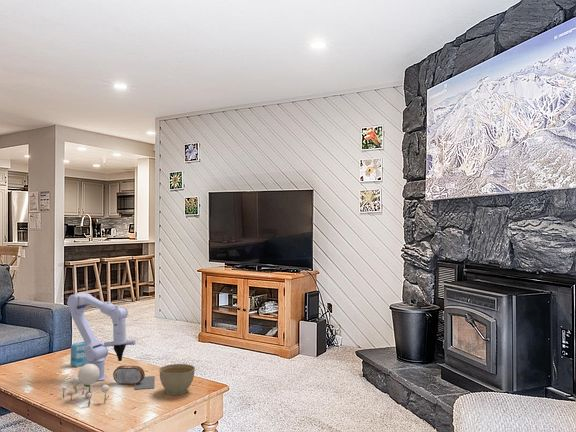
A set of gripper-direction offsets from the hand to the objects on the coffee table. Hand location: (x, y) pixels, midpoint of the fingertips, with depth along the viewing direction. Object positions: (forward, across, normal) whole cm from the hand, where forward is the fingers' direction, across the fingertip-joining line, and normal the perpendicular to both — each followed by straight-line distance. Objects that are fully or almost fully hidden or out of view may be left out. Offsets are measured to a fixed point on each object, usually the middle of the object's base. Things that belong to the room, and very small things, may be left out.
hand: (120, 360), depth 236 cm
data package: (+9, +25, -33) cm, 42 cm away
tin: (+11, -4, +4) cm, 12 cm away
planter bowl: (+12, -28, +18) cm, 35 cm away
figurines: (+11, +11, +21) cm, 27 cm away
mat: (+11, -12, +3) cm, 16 cm away
